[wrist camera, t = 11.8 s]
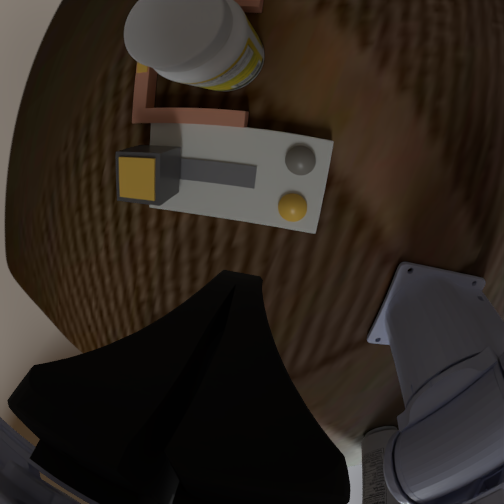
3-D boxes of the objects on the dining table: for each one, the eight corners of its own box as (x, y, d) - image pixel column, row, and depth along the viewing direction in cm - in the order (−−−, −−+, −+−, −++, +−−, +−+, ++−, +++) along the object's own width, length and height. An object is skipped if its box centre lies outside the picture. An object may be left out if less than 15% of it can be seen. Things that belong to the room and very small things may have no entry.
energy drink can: (381, 442, 32) (384, 524, 19) (352, 439, 31) (351, 528, 18) (408, 425, 29) (418, 515, 16) (380, 421, 29) (386, 521, 15)
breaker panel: (332, 140, 16) (334, 141, 15) (314, 228, 18) (315, 235, 17) (156, 121, 16) (149, 122, 16) (154, 203, 19) (148, 208, 18)
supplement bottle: (193, 29, 13) (122, -15, 6) (266, 25, 13) (239, -39, 5) (189, 94, 15) (111, 86, 8) (263, 93, 15) (231, 72, 7)
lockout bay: (263, 1, 12) (260, -7, 11) (247, 126, 16) (243, 127, 15) (155, 7, 12) (146, 2, 11) (141, 121, 17) (131, 123, 15)
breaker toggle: (180, 146, 16) (159, 153, 13) (179, 192, 17) (158, 206, 15) (139, 145, 16) (114, 152, 14) (139, 187, 18) (116, 201, 15)
